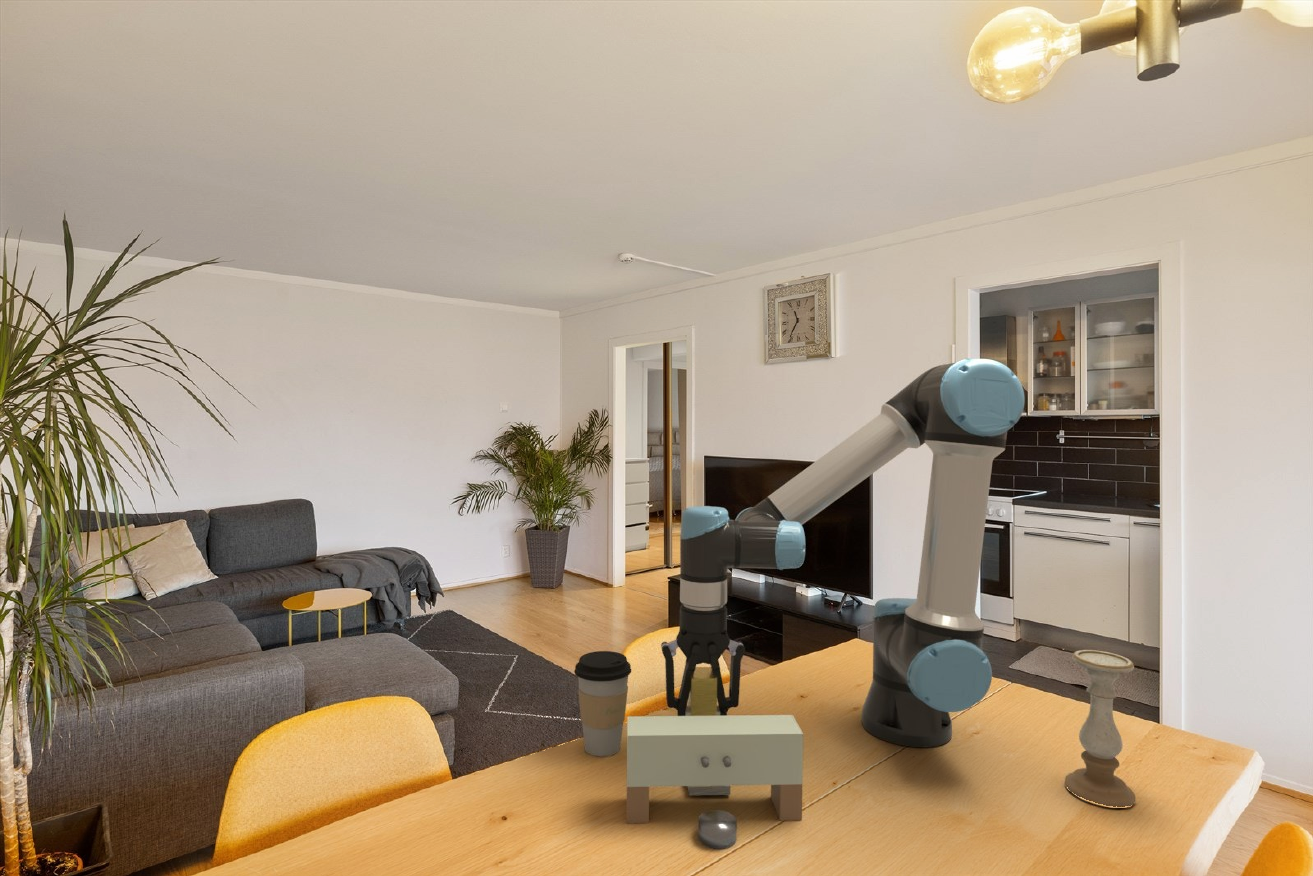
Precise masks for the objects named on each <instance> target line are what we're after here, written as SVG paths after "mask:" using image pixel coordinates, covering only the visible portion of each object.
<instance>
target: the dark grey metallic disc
mask: <svg viewBox="0 0 1313 876" xmlns="http://www.w3.org/2000/svg"><path fill="white" fill-rule="evenodd" d="M697 821H698V826H697V827H698V829H697V830H698V833H697V834H698V835H697V836H698V841H699V843H700V844H702V845H703V846H705V847H706V848H708V849H712V850H718V851H719V850H726V849H729V848H732V847H733V846H734V845H735V844H736V842H737V839H738V837H737V831H738V827H737V826H738V822H737V818H736V817H735V816H734V815H733V814H731V813H730V812H728V811H726V810H722V809H711V810H707V811H704V812H702V813H700V815H699V817H698V820H697Z"/></svg>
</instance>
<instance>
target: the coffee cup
mask: <svg viewBox="0 0 1313 876" xmlns="http://www.w3.org/2000/svg"><path fill="white" fill-rule="evenodd" d="M573 672H574V674H575V676H576V677H577V680H578V687H577V688H578V689H577V690H578V702H579V710H580V711H579V712H580V722H581V724H582V733H583V744H584V750H585V751H586V753H588V754H589V755H592V756H593V757H601V758H603V757H609V756H613V755H615V754H616V753H617V754H618V752H619V751H620V749H621V745H622V736H623V727H624V722H625V719H626V709H627V700H628V692H629V691H628V690H629V686H628V680H629V676H630V675H631V673H632V668H631V664H630V662H629V661H628V659H627V656H626V655H625V654H623V653H620V652H618V651H617V652H616V651H609V650H600V651H599V650H598V651H597V650H596V651H591V652H587V653H585V654H583V655H581V656H580V657H579V659H578V662H577V663H576V664H575V666H574V671H573Z"/></svg>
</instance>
